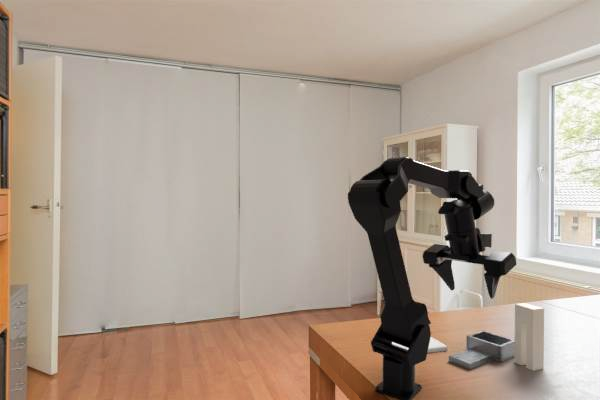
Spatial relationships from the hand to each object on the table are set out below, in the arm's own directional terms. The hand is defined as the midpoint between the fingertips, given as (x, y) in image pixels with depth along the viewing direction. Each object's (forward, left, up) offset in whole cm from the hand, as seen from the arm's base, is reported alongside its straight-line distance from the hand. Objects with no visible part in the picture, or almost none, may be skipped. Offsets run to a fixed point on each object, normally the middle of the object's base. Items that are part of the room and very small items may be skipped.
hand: (471, 293), depth 88 cm
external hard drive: (-3, +12, -15) cm, 19 cm away
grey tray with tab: (0, -2, -14) cm, 14 cm away
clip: (+2, -11, -14) cm, 18 cm away
